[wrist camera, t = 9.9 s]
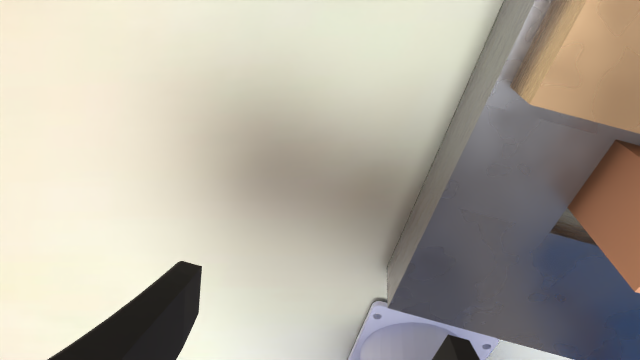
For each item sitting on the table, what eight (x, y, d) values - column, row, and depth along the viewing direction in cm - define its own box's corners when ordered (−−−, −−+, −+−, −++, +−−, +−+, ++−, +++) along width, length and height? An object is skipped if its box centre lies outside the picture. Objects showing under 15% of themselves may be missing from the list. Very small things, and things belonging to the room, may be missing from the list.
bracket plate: (619, 331, 21) (680, 422, 17) (386, 267, 21) (388, 342, 17) (969, -8, 12) (1298, 3, 8) (554, -115, 12) (649, -162, 8)
